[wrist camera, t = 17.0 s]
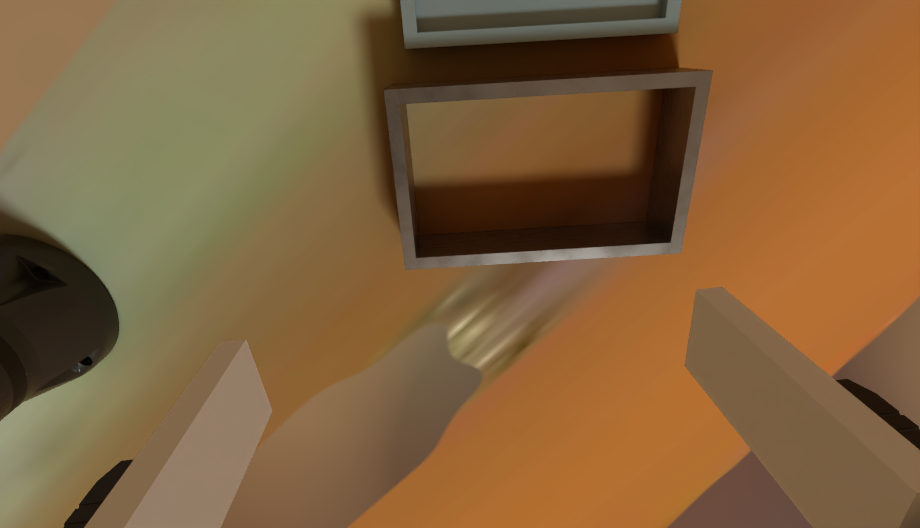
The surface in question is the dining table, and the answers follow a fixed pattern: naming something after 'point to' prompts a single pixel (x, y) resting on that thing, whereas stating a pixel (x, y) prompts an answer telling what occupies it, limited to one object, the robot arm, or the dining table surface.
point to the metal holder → (571, 242)
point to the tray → (531, 20)
